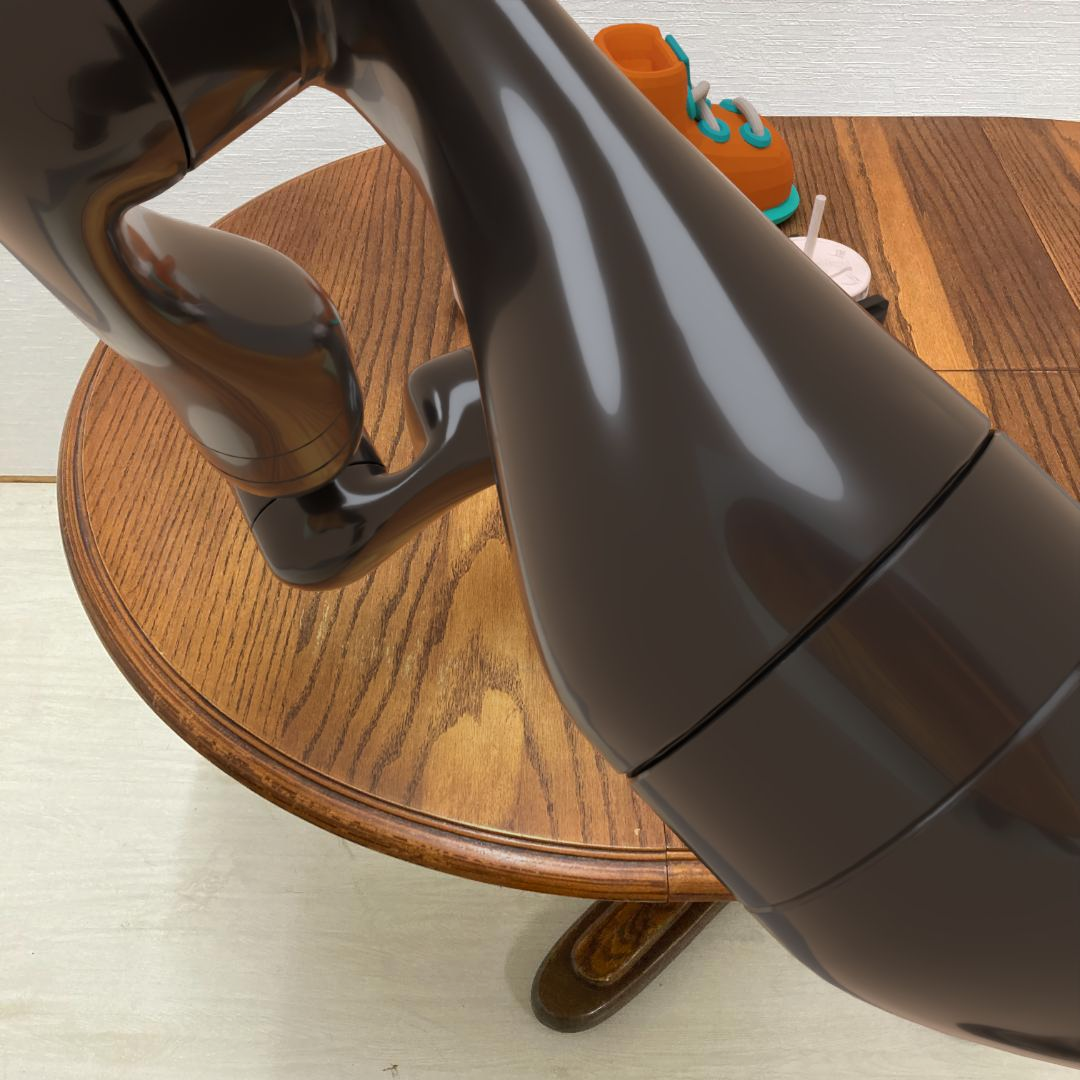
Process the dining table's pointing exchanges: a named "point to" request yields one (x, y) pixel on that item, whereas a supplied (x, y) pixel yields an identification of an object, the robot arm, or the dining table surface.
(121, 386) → the dining table surface
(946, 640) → the robot arm
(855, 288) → the smoothie
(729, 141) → the toy shoe
